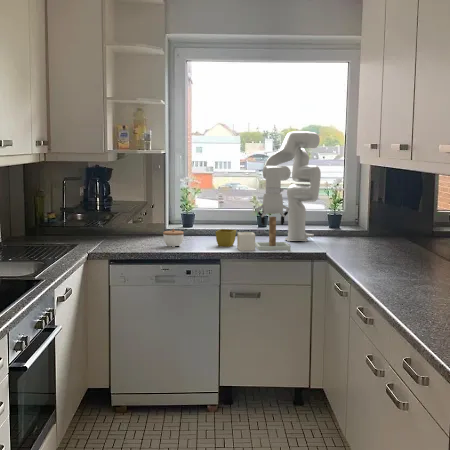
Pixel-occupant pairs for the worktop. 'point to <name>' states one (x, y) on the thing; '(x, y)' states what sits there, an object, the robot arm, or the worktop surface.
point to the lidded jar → (173, 238)
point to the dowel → (272, 231)
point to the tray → (266, 247)
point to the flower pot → (225, 237)
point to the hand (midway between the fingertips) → (272, 224)
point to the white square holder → (245, 241)
